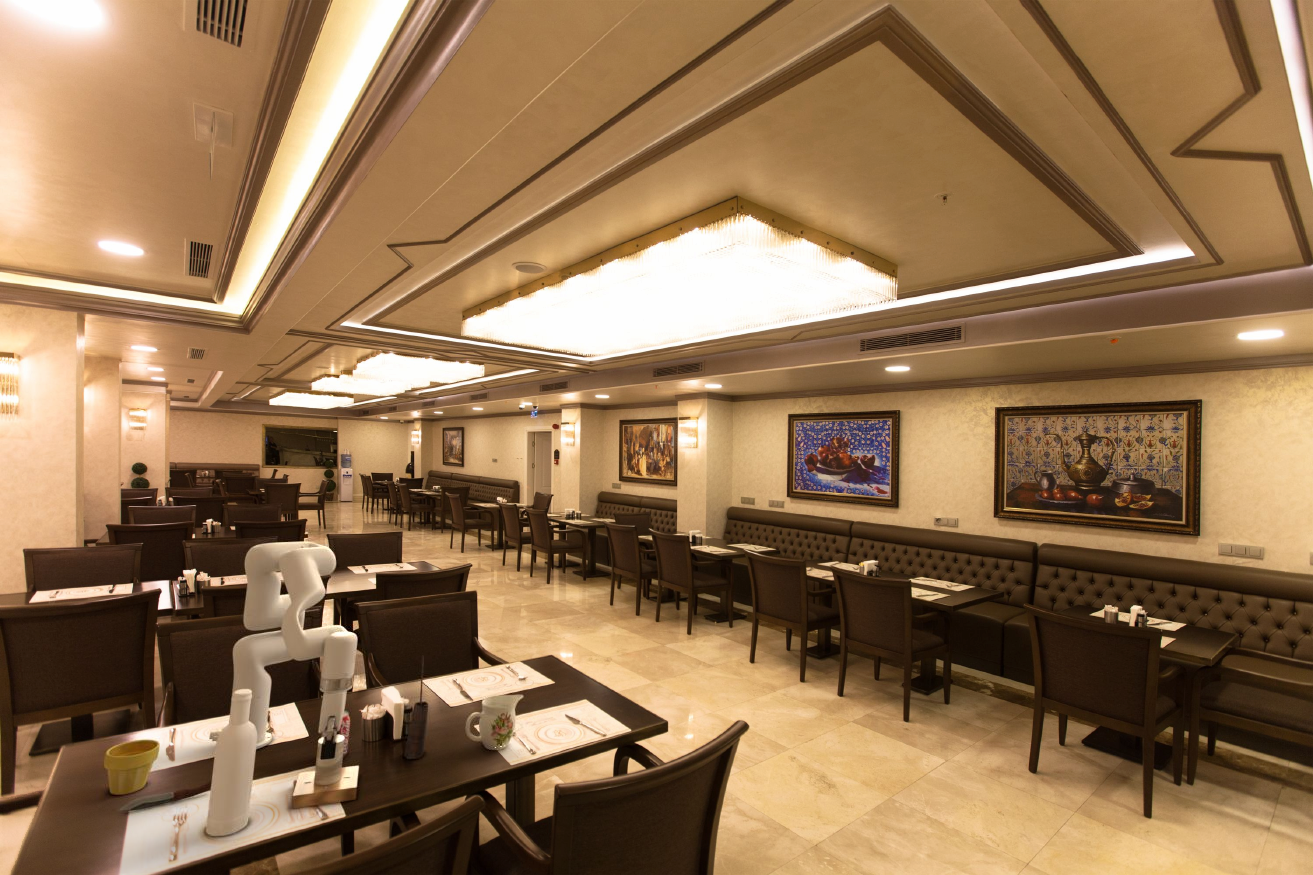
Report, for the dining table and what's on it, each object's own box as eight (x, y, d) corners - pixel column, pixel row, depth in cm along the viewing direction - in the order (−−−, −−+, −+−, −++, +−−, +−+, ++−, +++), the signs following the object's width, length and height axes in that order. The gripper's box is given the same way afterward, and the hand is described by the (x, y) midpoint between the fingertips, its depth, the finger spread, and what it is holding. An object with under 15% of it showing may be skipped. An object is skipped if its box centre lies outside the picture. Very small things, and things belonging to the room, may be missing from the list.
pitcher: (457, 745, 182) (461, 699, 184) (513, 733, 193) (516, 689, 194) (470, 759, 174) (474, 711, 175) (527, 746, 184) (530, 700, 185)
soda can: (334, 764, 166) (339, 720, 167) (313, 760, 168) (317, 716, 168) (352, 753, 173) (356, 711, 174) (331, 750, 174) (335, 708, 175)
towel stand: (291, 808, 144) (292, 795, 144) (298, 784, 155) (299, 771, 155) (355, 799, 149) (356, 786, 150) (357, 776, 160) (359, 764, 161)
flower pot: (162, 775, 155) (167, 736, 156) (144, 795, 145) (149, 754, 146) (112, 780, 151) (117, 740, 152) (90, 801, 142) (96, 758, 143)
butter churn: (436, 760, 172) (445, 661, 174) (401, 766, 167) (410, 664, 170) (430, 747, 180) (438, 652, 182) (396, 752, 175) (405, 655, 177)
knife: (116, 817, 136) (118, 803, 136) (116, 814, 137) (118, 800, 138) (215, 793, 148) (217, 781, 148) (215, 790, 149) (216, 778, 150)
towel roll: (340, 783, 151) (344, 741, 152) (313, 787, 148) (317, 744, 149) (341, 772, 156) (345, 731, 157) (315, 775, 154) (319, 734, 154)
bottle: (220, 816, 139) (235, 684, 141) (255, 816, 140) (270, 685, 142) (197, 836, 131) (213, 696, 133) (234, 837, 132) (250, 697, 134)
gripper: (323, 671, 161) (316, 736, 159) (316, 695, 145) (308, 767, 144) (354, 670, 164) (347, 734, 162) (350, 692, 148) (343, 763, 147)
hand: (329, 749), depth 153 cm, fingers open, 9 cm apart
